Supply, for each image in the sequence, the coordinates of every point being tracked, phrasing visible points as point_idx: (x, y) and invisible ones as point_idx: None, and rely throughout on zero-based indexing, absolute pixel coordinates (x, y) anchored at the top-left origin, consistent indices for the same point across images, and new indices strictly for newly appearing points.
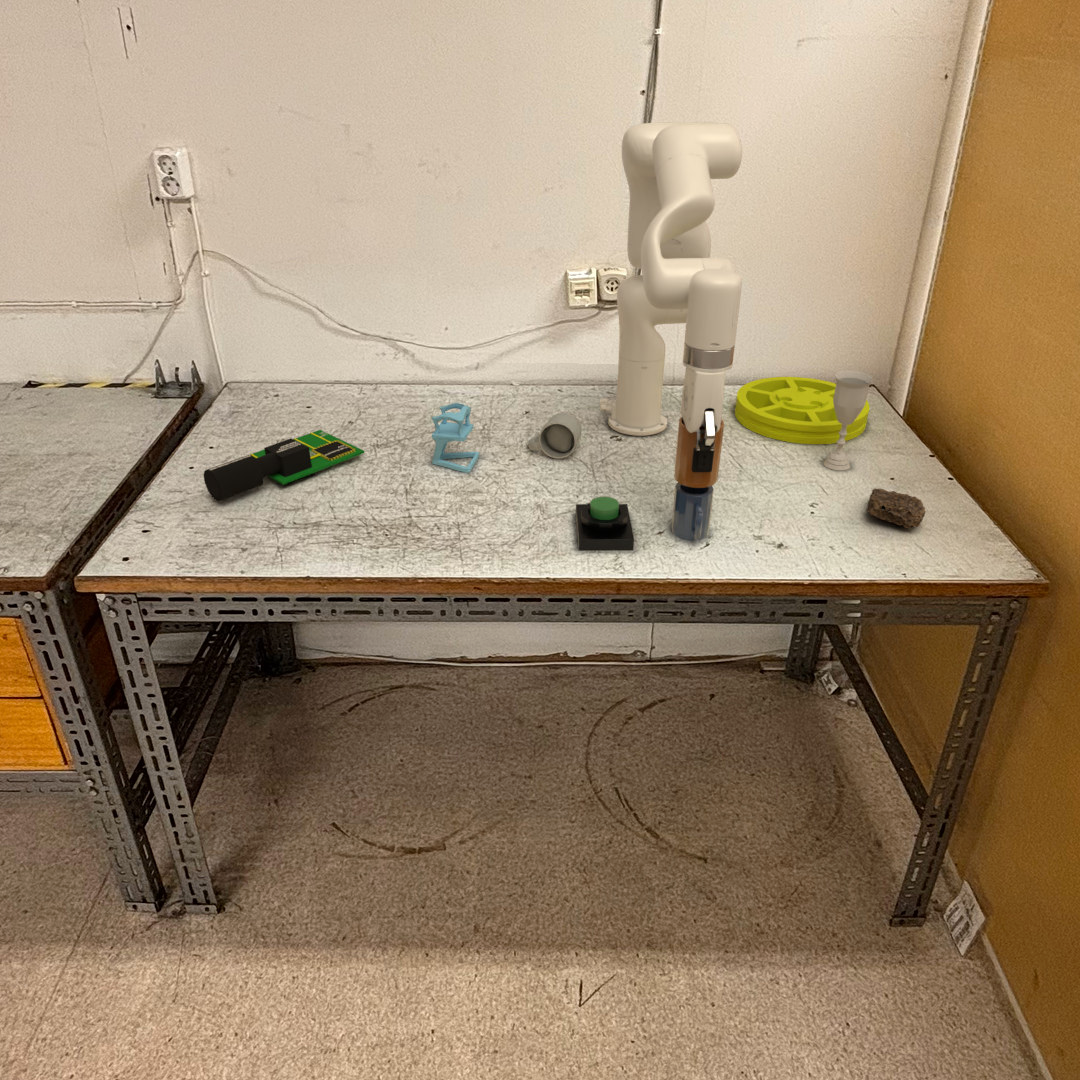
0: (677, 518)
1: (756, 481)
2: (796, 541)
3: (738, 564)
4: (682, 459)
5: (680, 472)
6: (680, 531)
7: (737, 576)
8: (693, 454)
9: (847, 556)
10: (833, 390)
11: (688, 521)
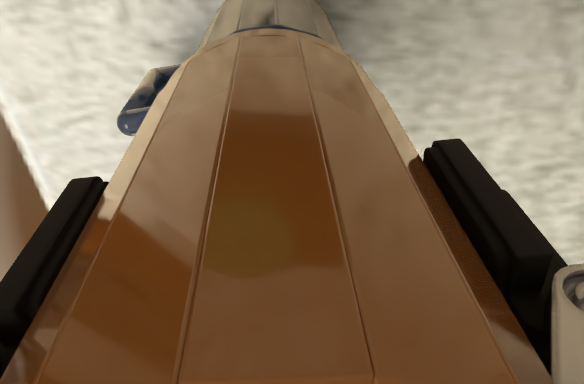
0: (222, 12)
1: (567, 247)
2: None
3: (107, 176)
4: (146, 136)
5: (172, 84)
6: (214, 17)
7: (41, 169)
8: (12, 269)
9: None
10: None
11: None
